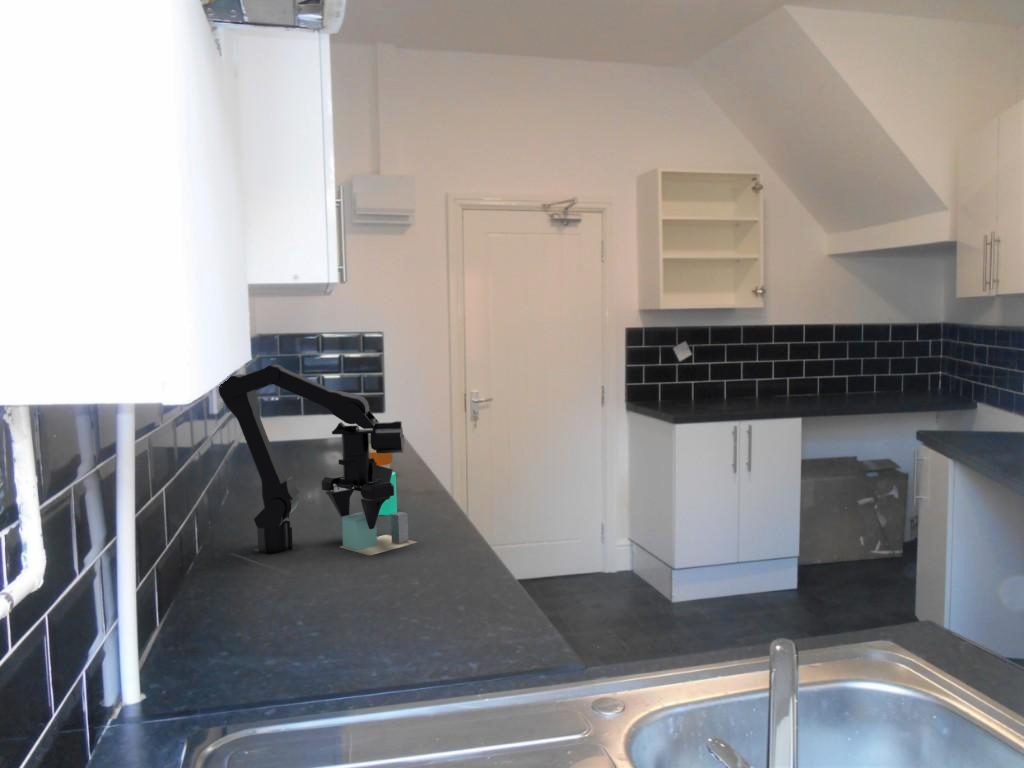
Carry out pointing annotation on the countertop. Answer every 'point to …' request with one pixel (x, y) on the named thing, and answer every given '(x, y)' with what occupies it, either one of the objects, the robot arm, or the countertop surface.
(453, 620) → the countertop surface
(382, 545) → the board
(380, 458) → the reusable coffee cup
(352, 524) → the teal rectangular block
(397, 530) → the post
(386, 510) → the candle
